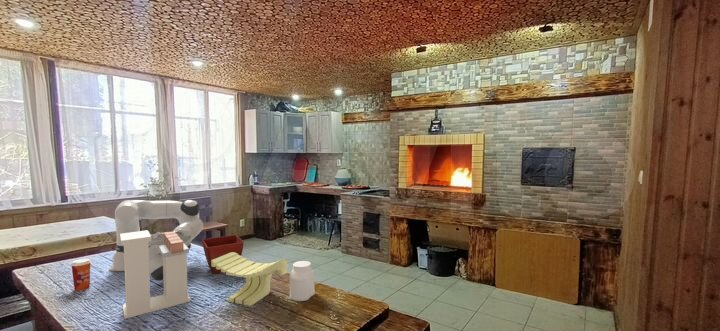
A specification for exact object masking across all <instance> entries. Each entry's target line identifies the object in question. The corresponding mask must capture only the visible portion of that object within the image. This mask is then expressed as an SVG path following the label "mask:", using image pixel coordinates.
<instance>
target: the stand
mask: <svg viewBox="0 0 720 331" xmlns="http://www.w3.org/2000/svg"><path fill="white" fill-rule="evenodd" d="M151 235H152V234H151V233H150V231H149V230H147V229H146V230H140V231H138V232H131V233H123V234H120V240H121V246H122V245H124V266H125V271H124V286H125V287H124V291H125V303H124V304H122V311H123V319H124V320H125V319H130V318H133V317H136V316H140V315H145V314H149V313H152V312H155V311H159V310H164V309H167V308H171V307H175V306H179V305H182V304H185V303H189V302H191V296H190V295H189V293H188V291H189V290H188V262H187V260H188V259H187V258H188V256H187V254H189V253H190V249H189V248H188V247H187V246H186V245H185V244H184V243H183V245H184V252H181V253H176V254H171V252H170V251H169V249H168V248H167V246H166V245H162V246H159V252H160V253H161V255H162V257H163V280H162V282H163V294H160V295H156V296H151V285H150V284H151V281H150V277H151V275H150V274H149V245H148V242H149V241H151Z"/></svg>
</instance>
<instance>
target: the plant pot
mask: <svg viewBox="0 0 720 331" xmlns="http://www.w3.org/2000/svg"><path fill="white" fill-rule="evenodd" d="M201 241H202V242H201V243H202V248H203V251H204V256H205V260H206V262H207V265H208V267H209V270H210V272H211V274H212V275H213V276H215V275H218V274H225V273H226V272H221V269H220V270H218V269H216V267H212V266H211V260H213V259H216V258H218V257H221V256H223V255H226V254H228V253H231V252H235V253H238V255H240V256H243V251H244V244H245V242H244V240H243V239H241V237H239V236H238V235H237V234H231V235H225V236H224V235H223V236H217V237H210V238H204V239H203V238H202V240H201Z"/></svg>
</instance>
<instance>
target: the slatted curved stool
mask: <svg viewBox="0 0 720 331" xmlns="http://www.w3.org/2000/svg"><path fill="white" fill-rule="evenodd" d="M211 266H212V267H216V269H218V270H220V269H221V272H225V273H226V274H225V275H226V276H231V277H232V276H234V277H237V278H238V277H239V278H244V279H245V284H244V286H243V287H241V289H240V290H238V291H237V292H235V293H234V294H232V295H230V296H229V297H228V298H227V300H226V303H228V302H229V303H232V304H233V303H235V304H239V305H244V306H249V307H251V306H253V305H254V304H256V303H257V302H259V301H260V300H262V299H263V298H264V297H266V296H267V295H269V294H270V291H271V281H272V276H273V274H274V275H275V274H276V275H280V276H283V275H285V274H287V273H288V262H287V259H285V258H281V259H279V260H277V261H273V262H271V263H270V262H269V263H266V262H265V263H263V262H256V261H252V260H250V259H249V260H248V258H246V257H244V256H243V255H241V256H240V255H238V253H235V252H231V253H228V254H226V255H223V256H221V257H218V258H216V259H213V260H211Z"/></svg>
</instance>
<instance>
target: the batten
mask: <svg viewBox="0 0 720 331" xmlns="http://www.w3.org/2000/svg"><path fill="white" fill-rule="evenodd" d="M163 233H164V232H163ZM164 243H165V245H166V246H167V248H168V249H169V251H170V252H171V254H176V253H181V252H184V245H183V241H182V240H181V239H180V237H179V236H178V235H177V234H176V233H175V232H174V231H173V230H172V231H166V233H164Z"/></svg>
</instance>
